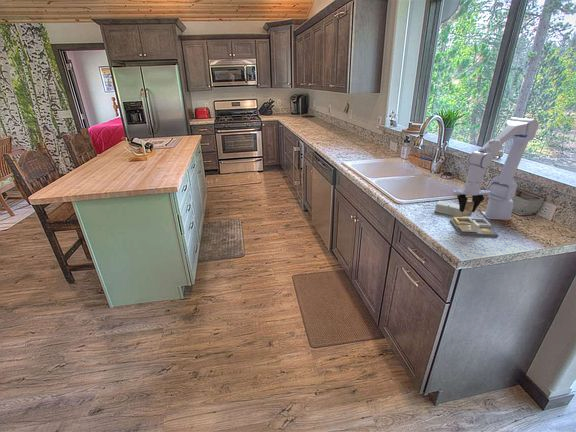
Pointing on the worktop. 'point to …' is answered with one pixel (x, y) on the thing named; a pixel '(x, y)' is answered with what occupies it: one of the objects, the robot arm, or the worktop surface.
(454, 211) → the skincare box
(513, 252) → the worktop surface
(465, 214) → the beige small block
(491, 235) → the board
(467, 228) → the cover
